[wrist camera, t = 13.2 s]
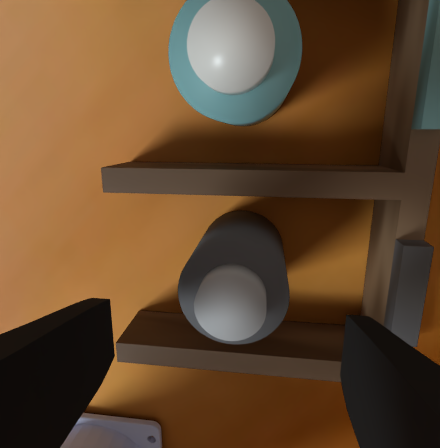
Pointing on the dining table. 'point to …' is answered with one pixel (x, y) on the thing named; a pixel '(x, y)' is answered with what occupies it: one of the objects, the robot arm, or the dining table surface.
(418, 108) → the brown divided sorting rack
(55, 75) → the dining table surface
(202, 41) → the teal rounded piece
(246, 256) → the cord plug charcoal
